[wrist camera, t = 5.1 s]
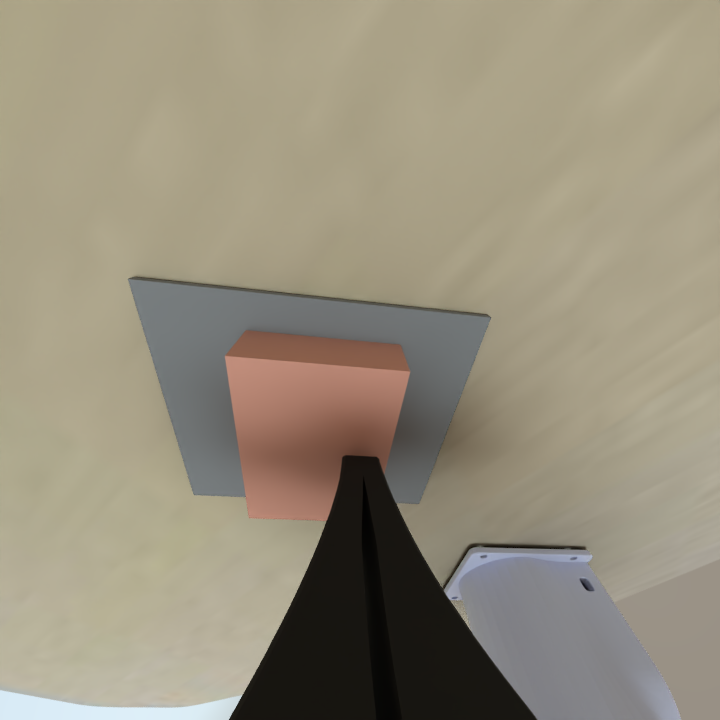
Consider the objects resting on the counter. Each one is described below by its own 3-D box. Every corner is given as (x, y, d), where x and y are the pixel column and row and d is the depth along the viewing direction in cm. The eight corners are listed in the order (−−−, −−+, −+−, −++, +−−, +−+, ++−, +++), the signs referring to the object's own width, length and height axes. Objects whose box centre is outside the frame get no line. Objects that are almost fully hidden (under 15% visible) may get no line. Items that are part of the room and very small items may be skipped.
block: (410, 371, 9) (224, 355, 8) (371, 522, 13) (248, 518, 13) (400, 344, 11) (246, 330, 10) (369, 485, 15) (260, 481, 15)
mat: (487, 314, 11) (490, 317, 10) (418, 499, 16) (419, 503, 16) (134, 276, 9) (128, 279, 9) (196, 489, 15) (193, 495, 15)
